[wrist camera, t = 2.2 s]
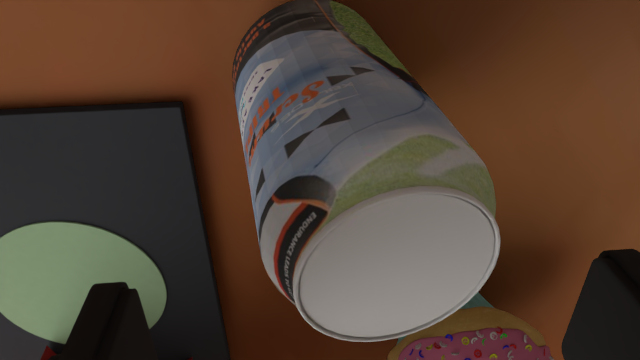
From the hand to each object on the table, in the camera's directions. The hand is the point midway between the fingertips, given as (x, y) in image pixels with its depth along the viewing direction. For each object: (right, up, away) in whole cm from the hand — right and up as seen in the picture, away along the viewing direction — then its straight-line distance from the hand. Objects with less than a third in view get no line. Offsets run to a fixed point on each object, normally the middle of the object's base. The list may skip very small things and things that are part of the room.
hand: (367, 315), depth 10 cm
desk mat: (-14, -3, +16) cm, 21 cm away
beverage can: (-1, +7, +10) cm, 13 cm away
